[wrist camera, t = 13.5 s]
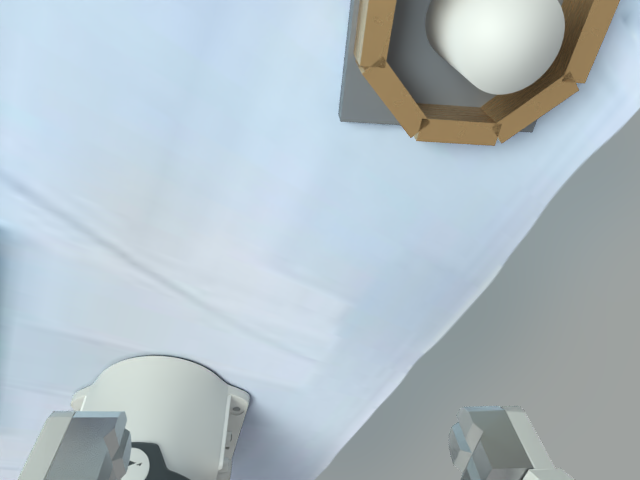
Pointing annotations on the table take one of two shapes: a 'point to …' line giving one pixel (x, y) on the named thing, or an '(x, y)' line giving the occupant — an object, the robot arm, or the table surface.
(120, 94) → the table surface
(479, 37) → the piston stand
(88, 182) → the table surface
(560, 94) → the wooden ring
